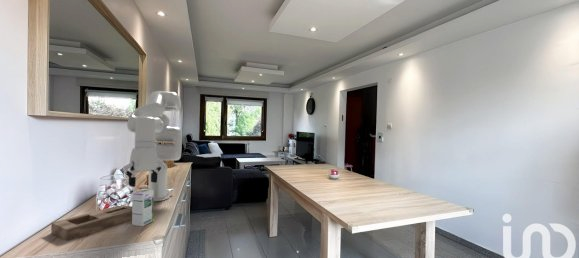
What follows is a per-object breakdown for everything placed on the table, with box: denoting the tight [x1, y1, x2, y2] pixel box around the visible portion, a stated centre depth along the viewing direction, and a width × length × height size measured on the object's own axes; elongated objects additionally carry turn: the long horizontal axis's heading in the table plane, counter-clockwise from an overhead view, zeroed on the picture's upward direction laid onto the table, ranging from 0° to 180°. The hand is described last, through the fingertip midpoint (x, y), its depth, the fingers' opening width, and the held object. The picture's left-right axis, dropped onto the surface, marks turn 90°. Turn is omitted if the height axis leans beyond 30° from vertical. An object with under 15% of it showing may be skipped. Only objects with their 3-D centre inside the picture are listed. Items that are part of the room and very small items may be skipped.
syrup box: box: [131, 188, 154, 227], centre depth 105 cm, size 6×6×14 cm
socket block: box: [50, 204, 132, 241], centre depth 102 cm, size 12×26×4 cm, turn 155°
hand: (143, 184), depth 105 cm, fingers open, 9 cm apart
